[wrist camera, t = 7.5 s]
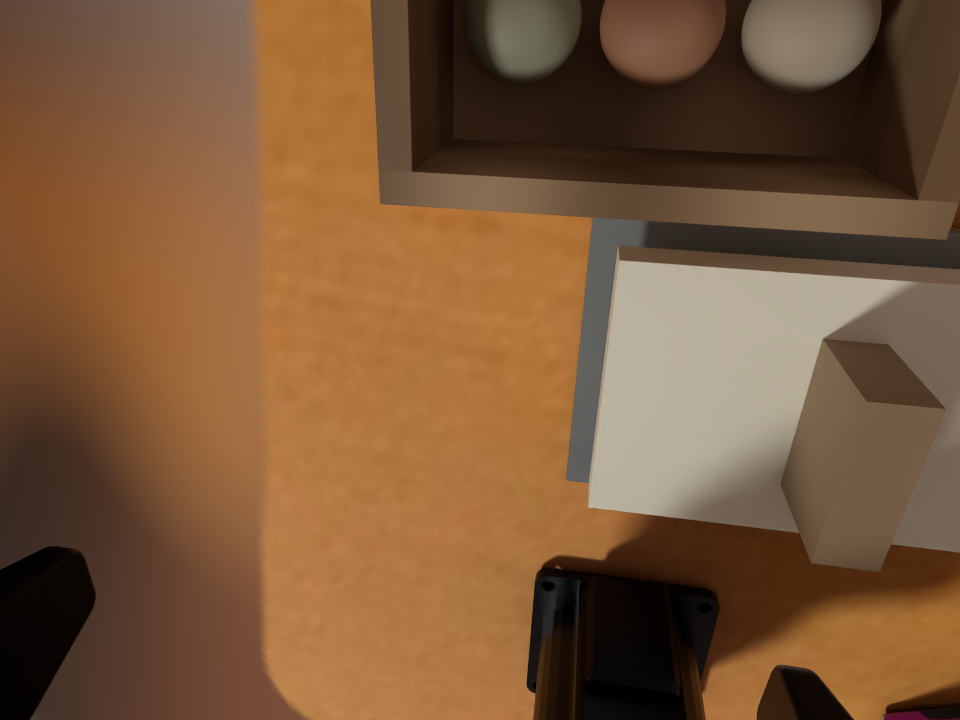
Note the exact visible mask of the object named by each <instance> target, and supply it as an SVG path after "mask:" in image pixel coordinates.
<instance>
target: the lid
mask: <svg viewBox="0 0 960 720" xmlns="http://www.w3.org/2000/svg"><path fill="white" fill-rule="evenodd" d="M588 507H591V508H599V509H607V510H615V511H623V512H632V513H640V514H648V515H656V516H664V517H672V518H681V519H689V520H697V521H705V522H713V523H721V524H730V525H738V526H746V527H754V528H762V529H771V530H779V531H787V532H795V533H800V536H801V539H802V541H803V544H804V546H805V549H806V551H807V554H808V557H809V559H810V562H811V563H812V564H820V565H828V566H836V567H844V568H851V569H859V570H867V571H875V572H880V570H881V568H882V565H883V563H884V560H885V558H886V556H887V553H888V551H889V548H890V546H891V544H893V545H901V546H910V547H918V548H926V549H934V550H942V551H950V552H959V553H960V269H946V268H932V267H917V266H903V265H889V264H875V263H860V262H846V261H832V260H817V259H803V258H789V257H774V256H760V255H746V254H732V253H717V252H703V251H689V250H674V249H660V248H646V247H632V246H618V250H617V258H616V267H615V275H614V283H613V291H612V299H611V307H610V315H609V323H608V331H607V339H606V347H605V356H604V364H603V372H602V380H601V388H600V396H599V404H598V412H597V420H596V428H595V437H594V445H593V453H592V461H591V469H590V477H589V497H588Z"/></svg>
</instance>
